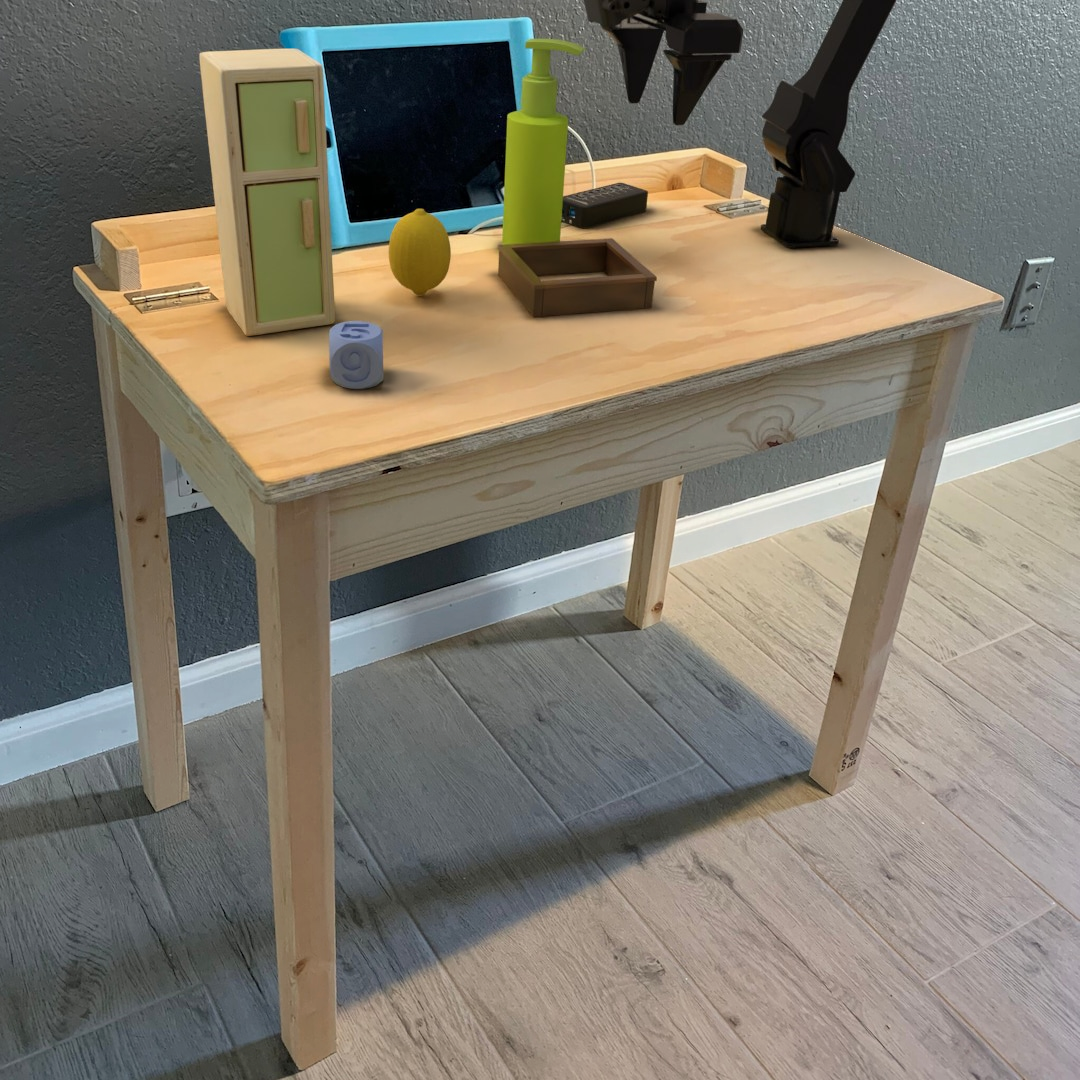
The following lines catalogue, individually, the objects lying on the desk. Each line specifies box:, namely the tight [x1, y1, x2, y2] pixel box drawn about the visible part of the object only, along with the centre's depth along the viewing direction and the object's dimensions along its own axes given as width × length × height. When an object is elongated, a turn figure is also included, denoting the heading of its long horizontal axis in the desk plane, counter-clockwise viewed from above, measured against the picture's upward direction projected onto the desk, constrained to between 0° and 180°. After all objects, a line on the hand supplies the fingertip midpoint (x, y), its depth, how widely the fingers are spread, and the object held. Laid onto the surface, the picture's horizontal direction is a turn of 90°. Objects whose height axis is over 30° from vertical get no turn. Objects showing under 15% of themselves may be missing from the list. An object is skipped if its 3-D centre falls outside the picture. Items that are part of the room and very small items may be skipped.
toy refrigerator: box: [199, 48, 336, 337], centre depth 92 cm, size 8×7×21 cm
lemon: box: [388, 208, 452, 297], centre depth 102 cm, size 6×6×8 cm
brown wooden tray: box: [497, 237, 658, 318], centre depth 106 cm, size 12×11×3 cm
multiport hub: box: [561, 182, 649, 229], centre depth 127 cm, size 4×11×2 cm, turn 136°
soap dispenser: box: [501, 38, 586, 245], centre depth 111 cm, size 6×7×20 cm
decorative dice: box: [328, 320, 385, 390], centre depth 88 cm, size 4×4×4 cm
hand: (655, 113), depth 114 cm, fingers open, 9 cm apart
